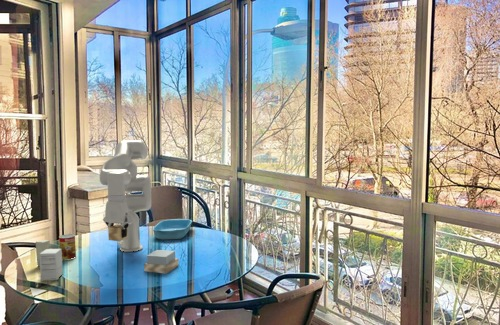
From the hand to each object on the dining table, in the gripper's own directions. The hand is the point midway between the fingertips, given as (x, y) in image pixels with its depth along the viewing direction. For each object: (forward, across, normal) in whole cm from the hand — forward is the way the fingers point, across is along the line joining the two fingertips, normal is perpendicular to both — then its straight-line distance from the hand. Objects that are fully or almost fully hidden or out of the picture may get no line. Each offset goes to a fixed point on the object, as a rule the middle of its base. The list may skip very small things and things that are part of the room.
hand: (118, 236), depth 186 cm
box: (+19, -45, -1) cm, 48 cm away
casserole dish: (+20, -14, +75) cm, 79 cm away
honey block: (+1, 0, 0) cm, 1 cm away
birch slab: (+19, +14, +14) cm, 27 cm away
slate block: (+15, +14, +14) cm, 25 cm away
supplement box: (+19, -28, -13) cm, 36 cm away
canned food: (+19, -43, +13) cm, 49 cm away
